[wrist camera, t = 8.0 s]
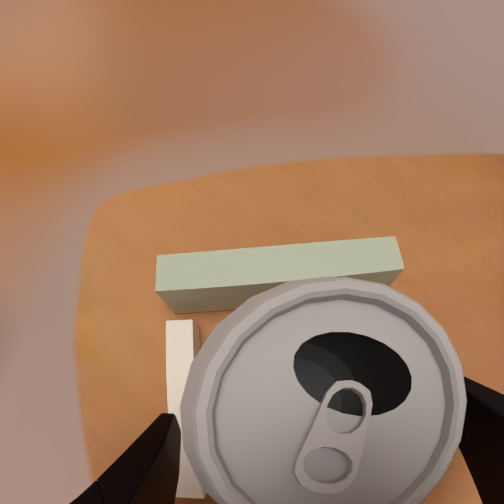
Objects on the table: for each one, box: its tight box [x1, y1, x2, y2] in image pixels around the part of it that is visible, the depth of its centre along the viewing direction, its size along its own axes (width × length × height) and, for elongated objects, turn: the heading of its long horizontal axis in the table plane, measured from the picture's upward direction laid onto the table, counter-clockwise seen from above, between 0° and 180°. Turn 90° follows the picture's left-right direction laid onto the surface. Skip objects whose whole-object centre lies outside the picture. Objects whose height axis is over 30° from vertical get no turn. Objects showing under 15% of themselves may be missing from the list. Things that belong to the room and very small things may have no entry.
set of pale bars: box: [155, 236, 405, 499], centre depth 15 cm, size 13×13×4 cm
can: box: [180, 276, 467, 504], centre depth 11 cm, size 8×8×12 cm
